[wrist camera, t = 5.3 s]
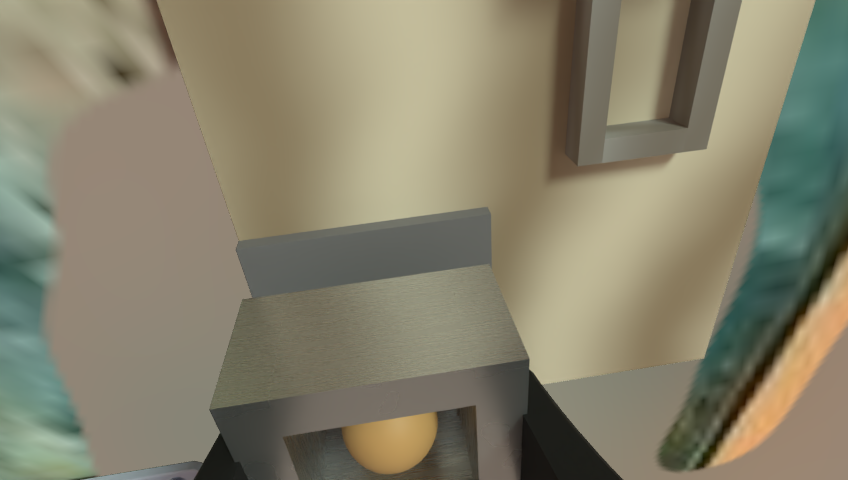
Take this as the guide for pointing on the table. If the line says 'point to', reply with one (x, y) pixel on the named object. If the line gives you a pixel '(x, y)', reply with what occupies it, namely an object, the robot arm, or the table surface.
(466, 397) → the square metal tube
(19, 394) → the table surface
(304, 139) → the board
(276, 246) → the square tray with peg
